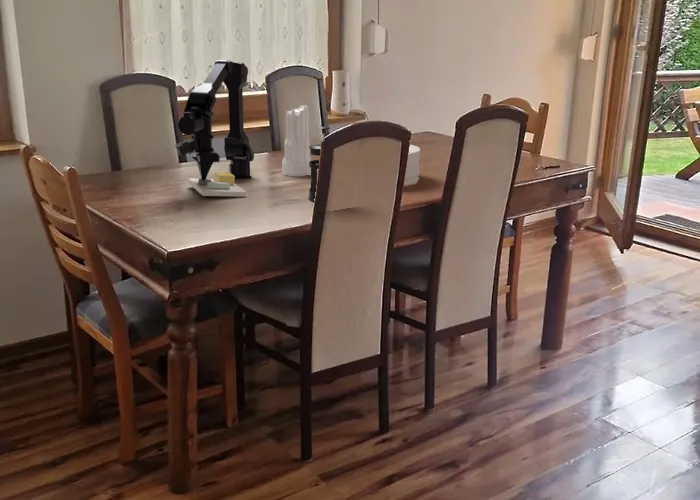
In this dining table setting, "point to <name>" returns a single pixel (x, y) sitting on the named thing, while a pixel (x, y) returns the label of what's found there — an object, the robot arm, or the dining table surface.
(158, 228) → the dining table surface
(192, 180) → the instrument board
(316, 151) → the french press
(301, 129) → the decorative vase
